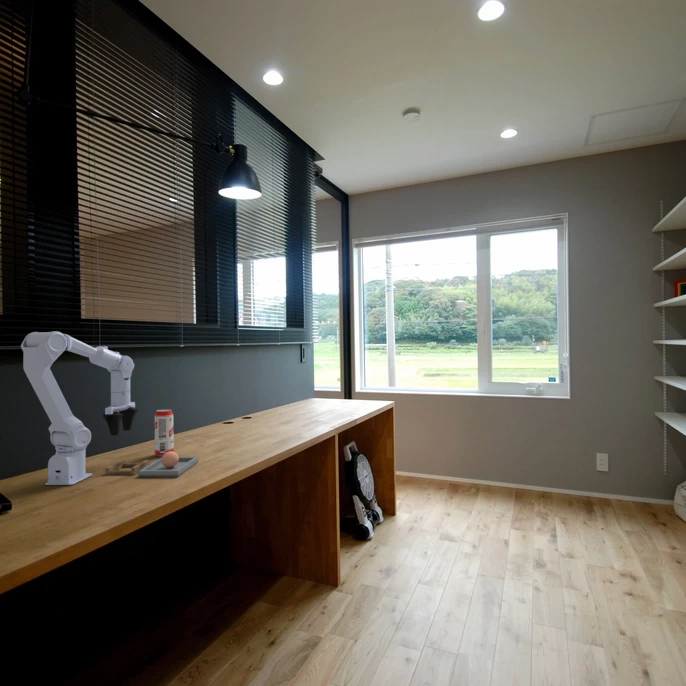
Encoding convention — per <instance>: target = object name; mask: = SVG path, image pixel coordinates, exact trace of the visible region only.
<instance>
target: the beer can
mask: <svg viewBox="0 0 686 686" xmlns="http://www.w3.org/2000/svg"><path fill="white" fill-rule="evenodd" d="M155 411H156V412H155V415H154V454H155V455H156V457H160V458H162V457H163V455H164V454H165V453H167V452H169V451H173V452H175V448H174V447H175V442H174V441H175V440H174V439H175V438H174V413H173V411H172V409H171V408H170V409H169V408H165V409H162V408H161V409H157V410H155Z"/></svg>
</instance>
